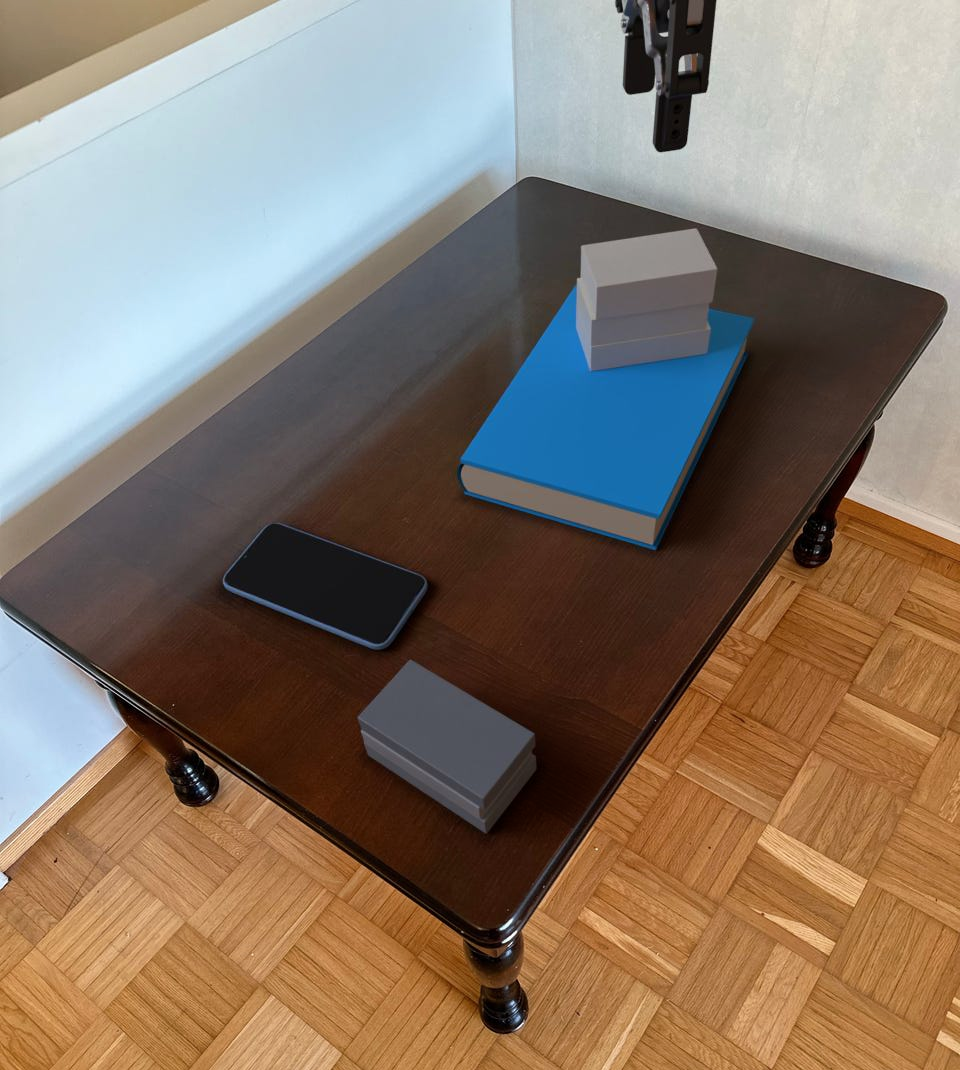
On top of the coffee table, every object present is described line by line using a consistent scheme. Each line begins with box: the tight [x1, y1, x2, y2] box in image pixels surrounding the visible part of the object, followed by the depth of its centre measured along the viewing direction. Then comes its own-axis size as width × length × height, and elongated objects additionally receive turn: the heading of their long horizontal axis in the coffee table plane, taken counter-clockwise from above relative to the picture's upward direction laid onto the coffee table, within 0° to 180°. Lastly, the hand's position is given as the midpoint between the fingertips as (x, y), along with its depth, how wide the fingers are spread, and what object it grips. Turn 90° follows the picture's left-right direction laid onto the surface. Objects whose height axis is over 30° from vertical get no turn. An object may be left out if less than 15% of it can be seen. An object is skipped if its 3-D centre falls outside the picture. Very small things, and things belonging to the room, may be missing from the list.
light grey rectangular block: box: [576, 277, 711, 371], centre depth 78 cm, size 10×6×5 cm, turn 98°
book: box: [456, 283, 755, 551], centre depth 79 cm, size 17×4×25 cm
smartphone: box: [222, 522, 428, 651], centre depth 72 cm, size 7×1×15 cm
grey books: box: [357, 659, 537, 834], centre depth 60 cm, size 10×6×5 cm, turn 53°
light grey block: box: [580, 228, 718, 320], centre depth 75 cm, size 10×6×3 cm, turn 98°
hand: (653, 118), depth 66 cm, fingers open, 8 cm apart
